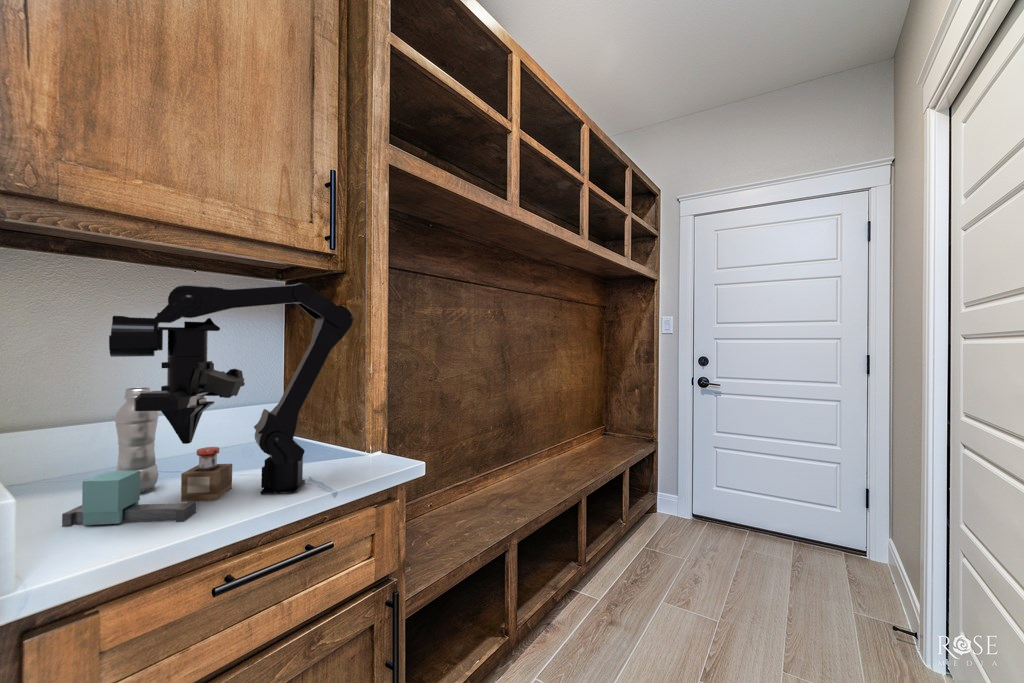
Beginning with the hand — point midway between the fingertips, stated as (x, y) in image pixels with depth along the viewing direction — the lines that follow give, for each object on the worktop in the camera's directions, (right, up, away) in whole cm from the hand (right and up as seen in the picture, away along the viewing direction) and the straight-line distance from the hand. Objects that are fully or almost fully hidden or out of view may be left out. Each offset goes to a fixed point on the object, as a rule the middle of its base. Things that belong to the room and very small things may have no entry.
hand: (187, 443), depth 78 cm
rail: (-4, -11, -6) cm, 13 cm away
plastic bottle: (-15, -11, +6) cm, 19 cm away
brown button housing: (0, -11, +6) cm, 13 cm away
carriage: (-7, -11, -7) cm, 15 cm away
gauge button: (0, -8, +6) cm, 10 cm away
